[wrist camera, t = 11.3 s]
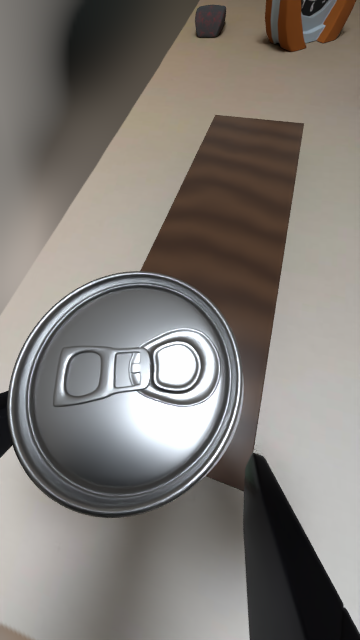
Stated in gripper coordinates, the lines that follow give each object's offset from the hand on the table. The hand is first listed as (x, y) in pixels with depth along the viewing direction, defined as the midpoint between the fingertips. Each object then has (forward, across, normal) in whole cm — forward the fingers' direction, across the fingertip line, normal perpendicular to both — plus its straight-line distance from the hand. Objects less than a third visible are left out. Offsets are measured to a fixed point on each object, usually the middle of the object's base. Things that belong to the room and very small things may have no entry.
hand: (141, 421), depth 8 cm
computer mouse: (+80, +20, -65) cm, 105 cm away
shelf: (+23, 0, -7) cm, 24 cm away
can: (+7, 0, +4) cm, 8 cm away
